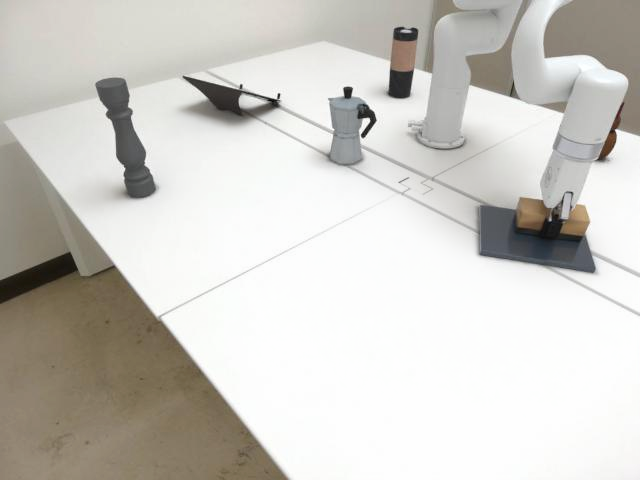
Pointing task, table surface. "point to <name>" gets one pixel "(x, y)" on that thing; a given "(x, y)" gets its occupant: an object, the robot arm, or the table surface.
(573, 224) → the scrub brush
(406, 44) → the travel mug
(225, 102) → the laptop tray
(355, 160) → the coffee maker
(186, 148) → the table surface
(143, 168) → the candle holder
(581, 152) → the robot arm
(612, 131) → the wooden figurine
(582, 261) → the slate board
